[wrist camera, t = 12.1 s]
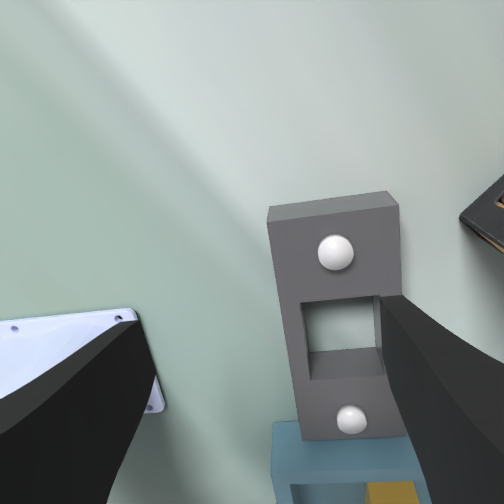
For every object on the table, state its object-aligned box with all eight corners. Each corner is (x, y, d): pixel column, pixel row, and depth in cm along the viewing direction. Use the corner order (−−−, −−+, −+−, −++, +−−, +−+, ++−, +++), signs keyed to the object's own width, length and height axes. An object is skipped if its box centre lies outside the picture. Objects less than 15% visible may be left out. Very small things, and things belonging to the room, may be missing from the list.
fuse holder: (301, 409, 26) (302, 449, 23) (269, 206, 21) (265, 226, 18) (395, 403, 25) (408, 444, 22) (386, 190, 20) (402, 208, 17)
